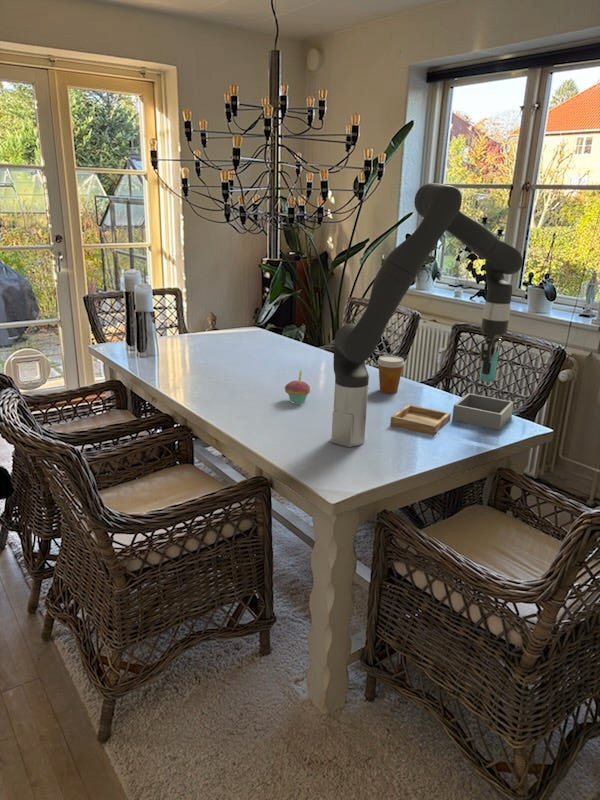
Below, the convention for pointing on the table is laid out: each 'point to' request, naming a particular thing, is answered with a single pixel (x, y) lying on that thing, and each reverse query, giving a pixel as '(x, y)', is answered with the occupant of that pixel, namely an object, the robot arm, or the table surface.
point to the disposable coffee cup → (390, 373)
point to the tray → (420, 419)
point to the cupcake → (297, 390)
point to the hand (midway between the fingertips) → (487, 372)
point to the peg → (492, 369)
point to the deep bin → (483, 411)
